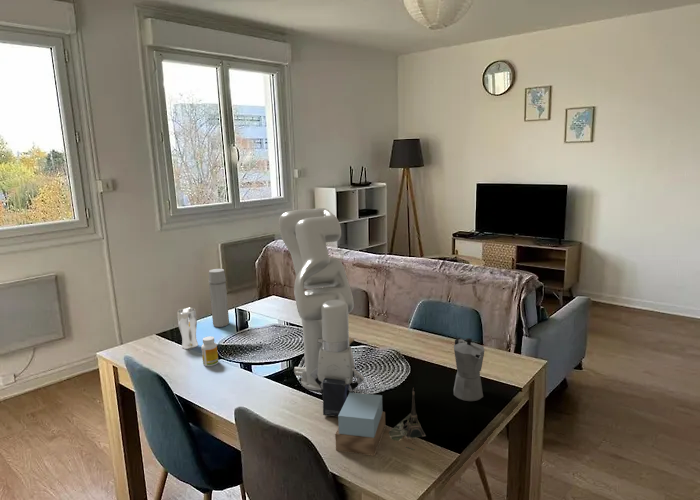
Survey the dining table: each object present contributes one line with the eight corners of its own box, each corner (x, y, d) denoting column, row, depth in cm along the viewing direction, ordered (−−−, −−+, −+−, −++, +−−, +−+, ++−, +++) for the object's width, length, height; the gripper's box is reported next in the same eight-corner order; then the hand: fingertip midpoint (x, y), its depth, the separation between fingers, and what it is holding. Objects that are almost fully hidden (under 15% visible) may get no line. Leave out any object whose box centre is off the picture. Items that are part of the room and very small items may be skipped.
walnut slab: (336, 451, 123) (335, 433, 122) (350, 424, 135) (349, 407, 134) (374, 457, 120) (374, 439, 119) (385, 428, 132) (385, 411, 131)
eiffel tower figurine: (410, 414, 139) (409, 371, 136) (442, 425, 133) (442, 380, 130) (381, 440, 127) (380, 393, 125) (415, 453, 121) (414, 404, 119)
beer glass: (177, 348, 191) (172, 312, 188) (189, 341, 198) (185, 306, 195) (191, 350, 189) (187, 313, 186) (202, 343, 195) (199, 308, 192)
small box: (344, 418, 137) (343, 384, 134) (322, 415, 138) (321, 382, 135) (352, 398, 147) (351, 366, 144) (331, 396, 148) (330, 365, 146)
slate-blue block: (338, 433, 122) (338, 415, 121) (350, 409, 133) (349, 392, 132) (374, 437, 120) (373, 419, 119) (382, 412, 131) (382, 395, 130)
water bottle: (228, 327, 212) (223, 272, 207) (210, 328, 212) (204, 272, 207) (233, 320, 221) (228, 267, 216) (216, 320, 221) (211, 267, 216)
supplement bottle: (221, 361, 178) (219, 336, 176) (211, 367, 173) (209, 342, 171) (210, 359, 180) (207, 334, 178) (200, 365, 175) (197, 340, 173)
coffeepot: (493, 402, 143) (494, 345, 139) (463, 407, 141) (464, 349, 137) (469, 379, 158) (469, 326, 154) (442, 383, 156) (442, 330, 152)
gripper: (302, 346, 136) (305, 403, 140) (362, 352, 132) (363, 411, 136) (311, 335, 143) (313, 390, 148) (368, 340, 139) (369, 397, 143)
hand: (337, 399), depth 142 cm, fingers closed on small box, 6 cm apart
